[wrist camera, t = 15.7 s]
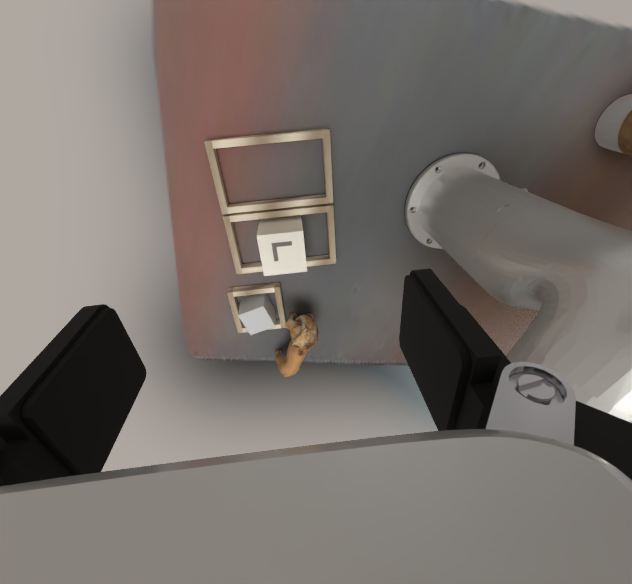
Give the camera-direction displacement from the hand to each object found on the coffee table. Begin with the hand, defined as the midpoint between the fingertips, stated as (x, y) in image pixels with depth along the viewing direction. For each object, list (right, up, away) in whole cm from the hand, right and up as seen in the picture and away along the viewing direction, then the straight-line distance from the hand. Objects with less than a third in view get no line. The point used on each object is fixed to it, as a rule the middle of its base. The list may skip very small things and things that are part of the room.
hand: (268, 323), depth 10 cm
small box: (-7, -1, +38) cm, 39 cm away
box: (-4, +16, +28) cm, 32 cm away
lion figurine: (-2, -5, +42) cm, 42 cm away
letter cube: (-3, +9, +33) cm, 34 cm away
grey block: (-7, -1, +39) cm, 39 cm away
